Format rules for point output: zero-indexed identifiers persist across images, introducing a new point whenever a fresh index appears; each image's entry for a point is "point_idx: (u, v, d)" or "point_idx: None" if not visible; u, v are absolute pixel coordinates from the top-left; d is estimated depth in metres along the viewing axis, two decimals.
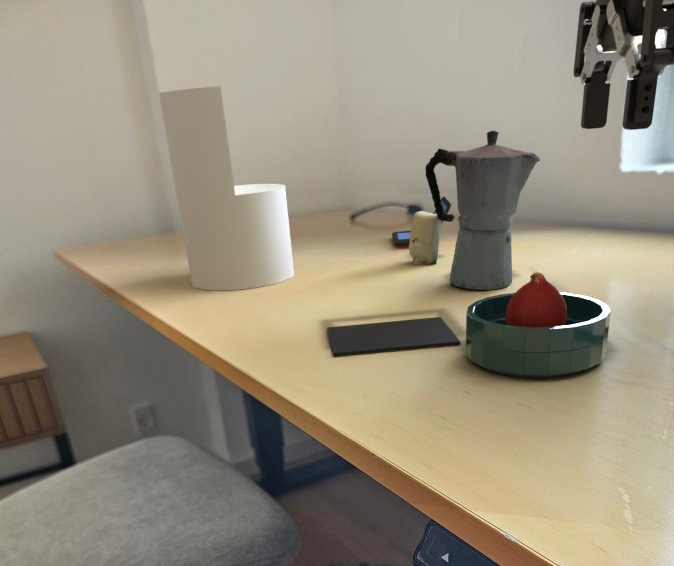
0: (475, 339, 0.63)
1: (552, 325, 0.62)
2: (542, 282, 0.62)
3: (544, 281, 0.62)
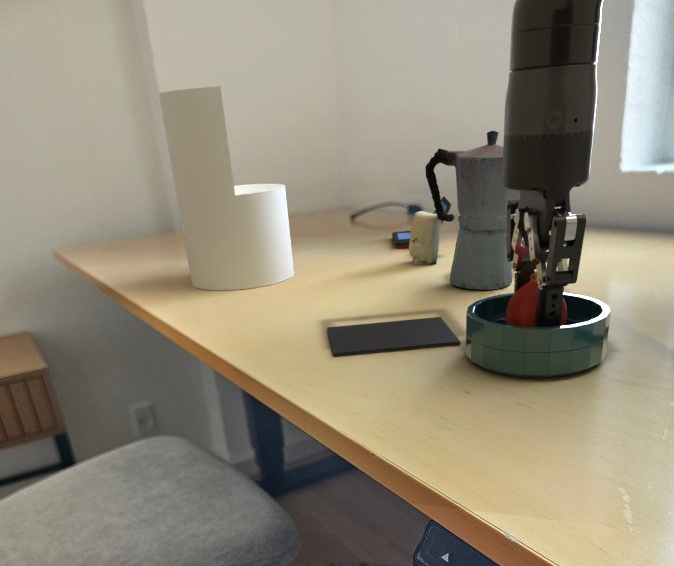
0: (475, 339, 0.63)
1: None
2: None
3: None
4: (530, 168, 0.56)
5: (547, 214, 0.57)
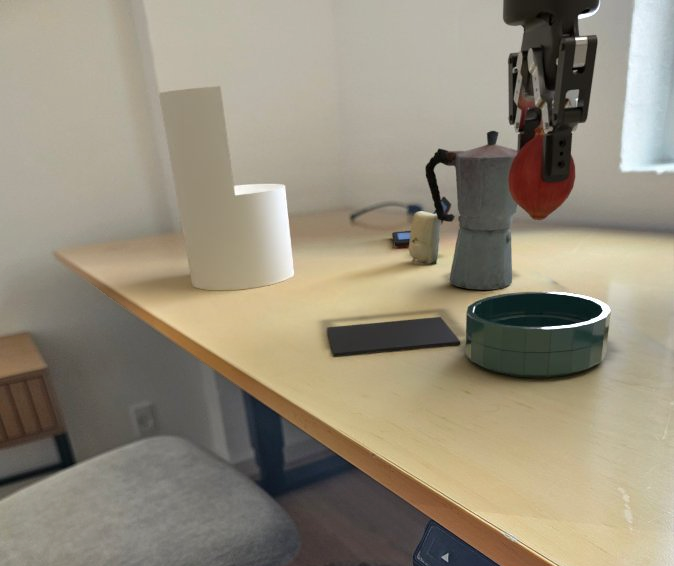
0: (475, 339, 0.63)
1: (559, 182, 0.57)
2: None
3: None
4: None
5: (553, 43, 0.51)
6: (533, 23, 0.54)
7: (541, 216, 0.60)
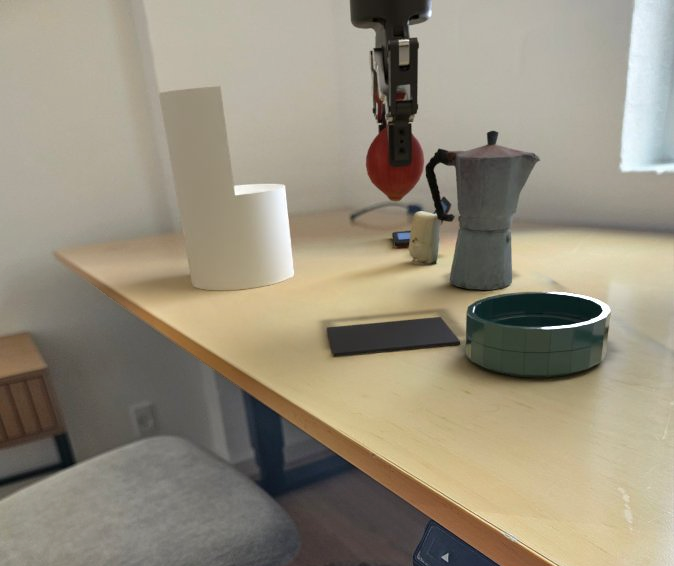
0: (475, 339, 0.63)
1: (405, 166, 0.64)
2: None
3: None
4: None
5: (387, 44, 0.59)
6: (376, 26, 0.61)
7: (396, 197, 0.67)
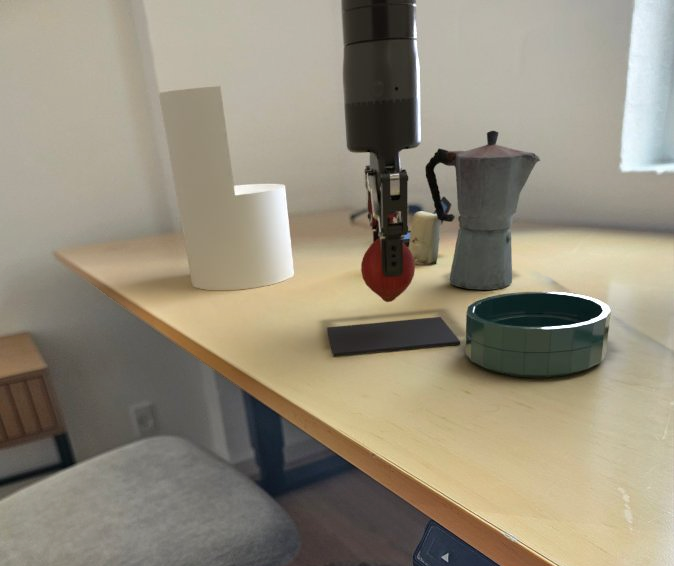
0: (475, 339, 0.63)
1: None
2: None
3: None
4: (363, 132, 0.63)
5: (379, 173, 0.64)
6: (370, 152, 0.67)
7: (389, 299, 0.73)
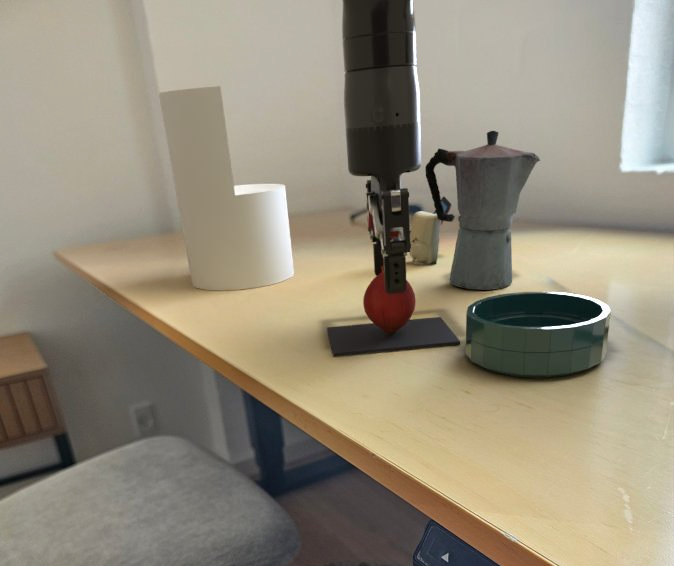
0: (475, 339, 0.63)
1: (398, 310, 0.72)
2: None
3: None
4: (364, 157, 0.64)
5: (381, 196, 0.65)
6: None
7: (390, 332, 0.75)
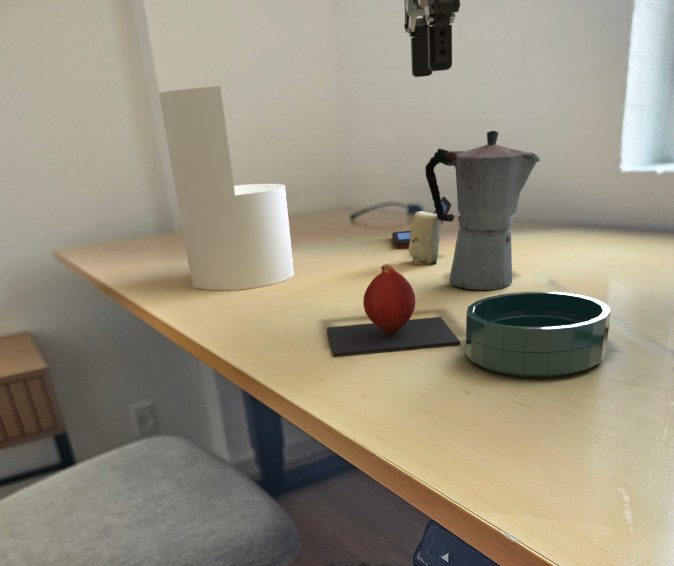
0: (475, 339, 0.63)
1: (398, 310, 0.72)
2: (390, 272, 0.72)
3: (392, 272, 0.72)
4: None
5: None
6: None
7: (390, 332, 0.75)
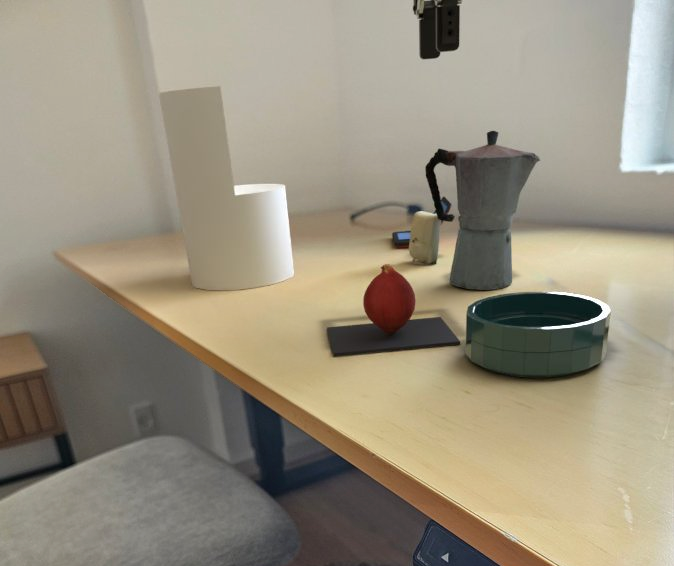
0: (475, 339, 0.63)
1: (398, 310, 0.72)
2: (390, 272, 0.72)
3: (392, 272, 0.72)
4: None
5: None
6: None
7: (390, 332, 0.75)
